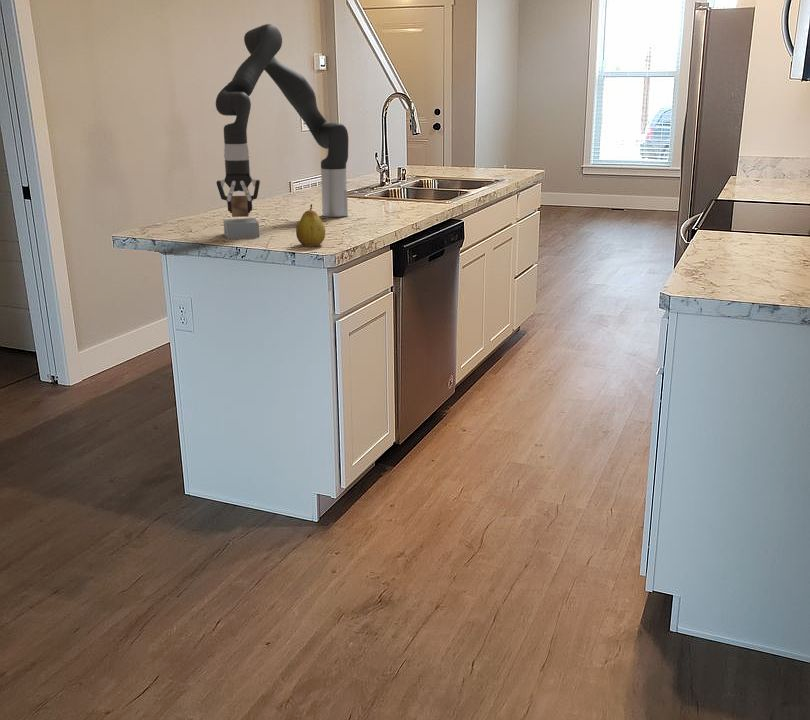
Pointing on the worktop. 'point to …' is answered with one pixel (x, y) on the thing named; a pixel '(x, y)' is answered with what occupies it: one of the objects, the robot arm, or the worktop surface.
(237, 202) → the walnut block
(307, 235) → the fruit
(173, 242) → the worktop surface
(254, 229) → the base block
